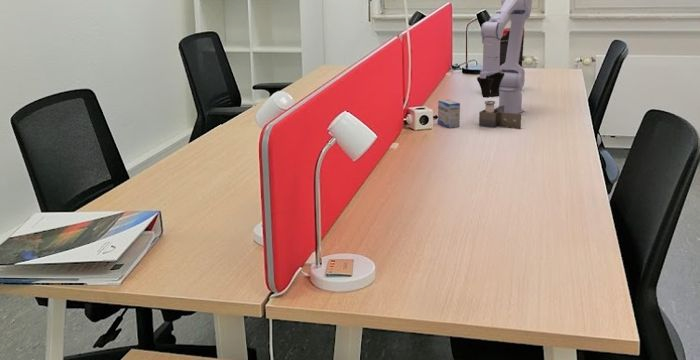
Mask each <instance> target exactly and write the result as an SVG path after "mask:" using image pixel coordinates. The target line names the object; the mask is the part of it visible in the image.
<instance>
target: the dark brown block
mask: <svg viewBox="0 0 700 360" xmlns="http://www.w3.org/2000/svg"><path fill="white" fill-rule="evenodd" d="M494 110H503V112H504V105H502V106H500V107H499V106H498V107H496V108H494ZM478 119H479V118H478ZM478 126H479V127H486V128H493V129H494V128H495V129H496V128H497V127H499V126H498V120H496V121H492V120H483V119H479V120H478Z"/></svg>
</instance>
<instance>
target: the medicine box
mask: <svg viewBox="0 0 700 360" xmlns="http://www.w3.org/2000/svg"><path fill="white" fill-rule="evenodd" d="M437 105H438V106H437V124H438V125H440V126H443V127H446V128H448V129H451V128H452V129H453V128H459V127H460V123H461V121H460V120H461V119H460V118H461V115H460V113H461V104H460V102H458V101H454V100H451V99H439V100H438V102H437Z"/></svg>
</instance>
